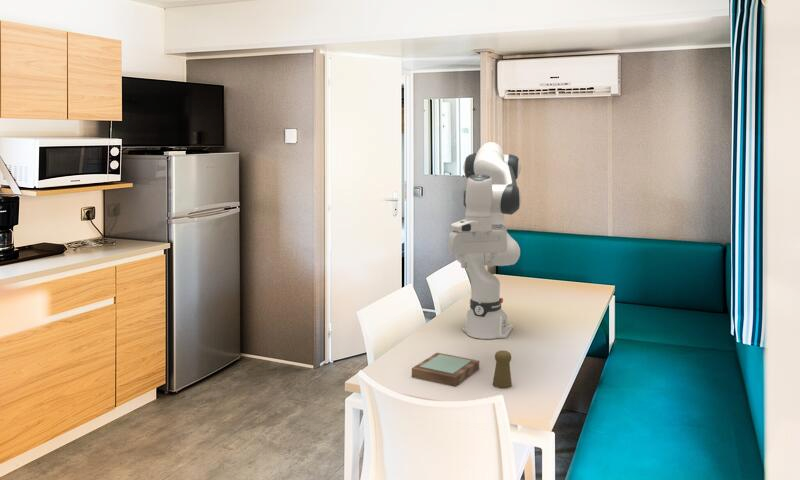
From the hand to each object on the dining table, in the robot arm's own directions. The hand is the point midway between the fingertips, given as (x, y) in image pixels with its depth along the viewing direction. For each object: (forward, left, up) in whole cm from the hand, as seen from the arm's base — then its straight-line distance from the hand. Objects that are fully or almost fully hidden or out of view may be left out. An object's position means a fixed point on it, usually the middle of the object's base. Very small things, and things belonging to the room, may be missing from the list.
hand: (477, 267), depth 213 cm
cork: (+7, +12, -36) cm, 39 cm away
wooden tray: (+7, -8, -36) cm, 37 cm away
